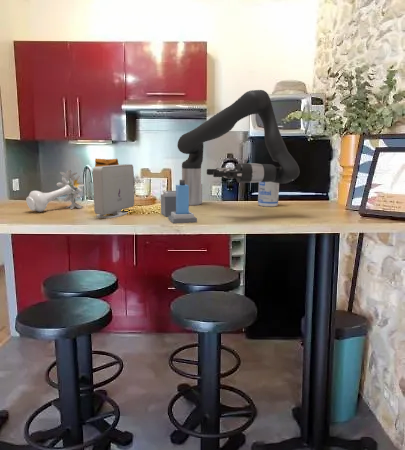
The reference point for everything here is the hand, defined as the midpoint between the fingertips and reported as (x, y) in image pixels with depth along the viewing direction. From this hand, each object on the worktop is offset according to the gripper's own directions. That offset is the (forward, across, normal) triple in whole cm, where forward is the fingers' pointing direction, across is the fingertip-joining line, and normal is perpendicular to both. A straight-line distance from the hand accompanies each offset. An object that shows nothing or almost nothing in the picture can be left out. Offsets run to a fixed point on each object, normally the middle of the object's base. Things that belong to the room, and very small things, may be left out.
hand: (210, 173), depth 163 cm
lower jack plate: (+11, +1, +18) cm, 21 cm away
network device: (+34, -21, +19) cm, 44 cm away
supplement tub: (-39, -29, +18) cm, 52 cm away
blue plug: (+11, +1, +16) cm, 20 cm away
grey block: (+11, -14, +18) cm, 26 cm away
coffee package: (+34, -46, +20) cm, 61 cm away
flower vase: (+57, -40, +20) cm, 73 cm away
